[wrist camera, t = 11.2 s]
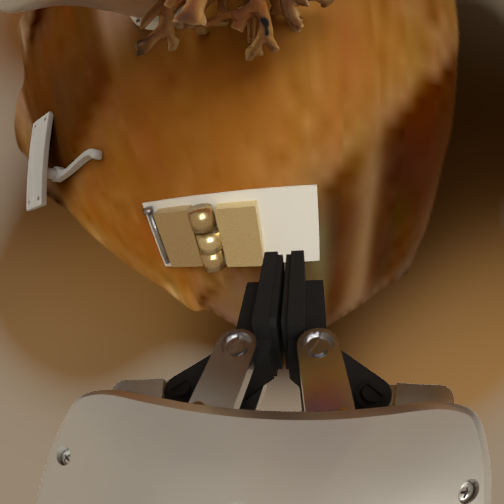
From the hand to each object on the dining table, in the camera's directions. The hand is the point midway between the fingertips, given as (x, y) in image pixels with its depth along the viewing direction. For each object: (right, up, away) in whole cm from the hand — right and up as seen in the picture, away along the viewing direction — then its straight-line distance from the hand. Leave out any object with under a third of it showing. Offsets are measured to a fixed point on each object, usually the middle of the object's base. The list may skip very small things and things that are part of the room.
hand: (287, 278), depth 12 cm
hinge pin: (-20, +4, +41) cm, 46 cm away
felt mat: (-6, +5, +38) cm, 39 cm away
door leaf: (-5, +5, +38) cm, 38 cm away
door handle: (-40, +24, +32) cm, 56 cm away
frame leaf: (-14, +5, +40) cm, 42 cm away
